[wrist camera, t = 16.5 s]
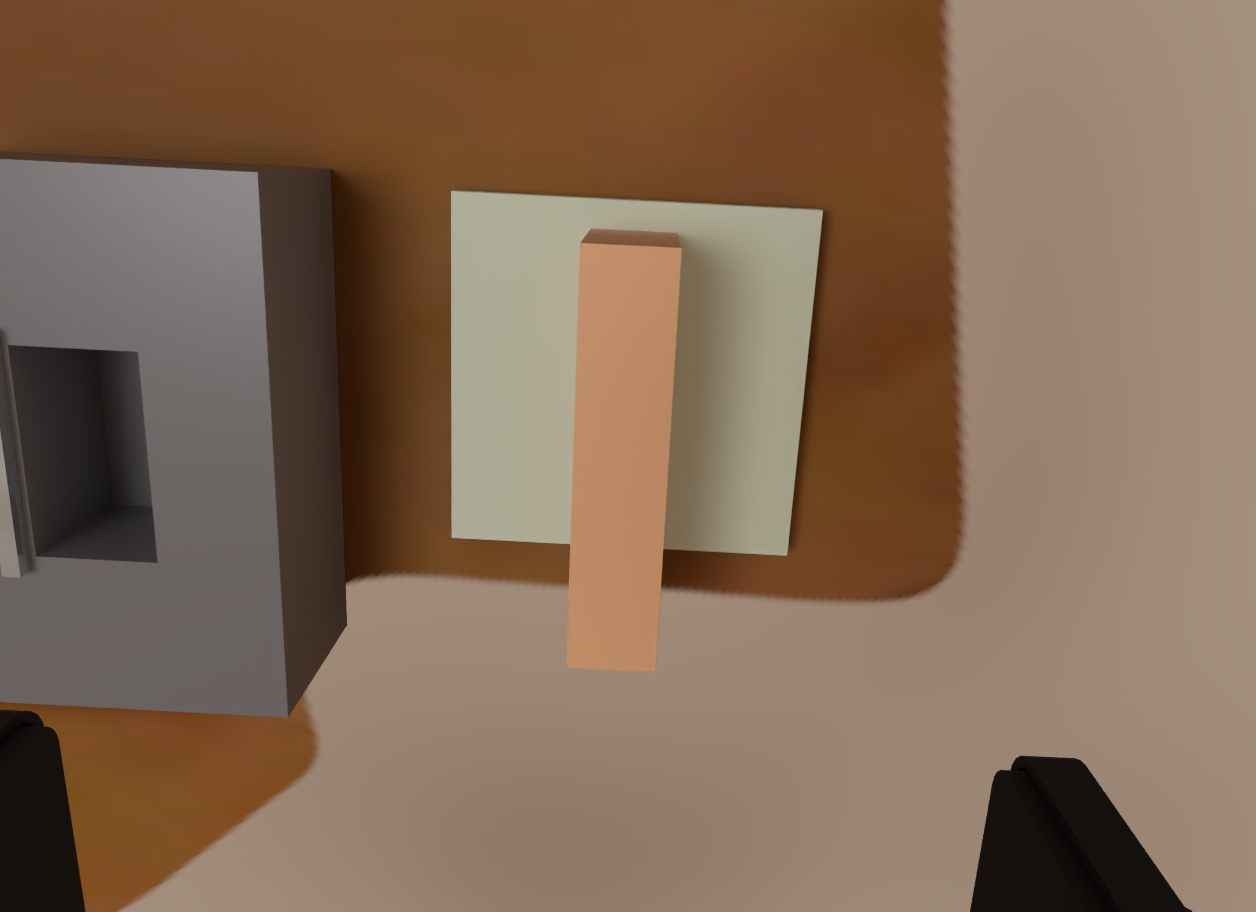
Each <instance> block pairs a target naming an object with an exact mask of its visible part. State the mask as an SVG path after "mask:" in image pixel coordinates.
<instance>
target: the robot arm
mask: <svg viewBox="0 0 1256 912" xmlns="http://www.w3.org/2000/svg"><path fill="white" fill-rule="evenodd" d="M0 912H85V906H84V899H83V893H82V886H81V880H80V874H79V867H78V861H77V854H76V848H75V841H74V835H73V828H72V822H71V816H70V809H69V803H68V796H67V790H66V783H65V777H64V770H63V764H62V758H61V751H60V745H59V740H58V736H57V734H56V732H55V731H54V730H53V729H52V728H49V727H44V725H43V721H42V720H41V718H40V717H39V716H38V714H36V713H33V712H31V711H15V710H0ZM970 912H1192V911H1191V910H1189V909H1187V908H1185V907H1184V906H1183V904H1182V902H1181V901H1180V900H1179V899H1178V897H1177V895H1176V894H1175V892H1174V891H1173V890H1172V888H1171V887H1170V885H1169V884H1168V882H1167V881H1166V880H1165V878H1164V877H1163V875H1162V874H1161V872H1160V871H1159V870H1158V868H1157V867H1156V865H1155V864H1154V862H1153V861H1152V860H1151V858H1150V857H1149V855H1148V854H1147V852H1146V851H1145V849H1144V848H1143V847H1142V845H1141V844H1140V842H1139V841H1138V839H1137V838H1136V837H1135V835H1134V834H1133V832H1132V831H1131V829H1130V828H1129V827H1128V825H1127V824H1126V822H1125V821H1124V819H1123V818H1122V817H1121V815H1120V814H1119V812H1118V811H1117V810H1116V808H1115V807H1114V805H1113V804H1112V802H1111V801H1110V800H1109V798H1108V796H1107V795H1106V794H1105V792H1104V791H1103V789H1102V788H1101V787H1100V785H1099V784H1098V782H1097V781H1096V779H1095V778H1094V777H1093V775H1092V774H1091V772H1090V771H1089V769H1088V768H1087V766H1086V765H1085V764H1084V763H1083V762H1082V761H1081V760H1078V759H1075V758H1057V757H1035V756H1019V757H1018V758H1016V759H1015V761H1014V763H1013V764H1012V767H1011V770H1010V771H1009V770H1000V771H998V772H997V773H996V775H995V776H994V780H993V783H992V788H991V795H990V800H989V806H988V812H987V817H986V823H985V829H984V835H983V840H982V847H981V852H980V858H979V864H978V869H977V875H976V881H975V886H974V893H973V898H972V904H971V909H970Z"/></svg>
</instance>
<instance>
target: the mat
mask: <svg viewBox="0 0 1256 912" xmlns="http://www.w3.org/2000/svg"><path fill="white" fill-rule="evenodd" d="M822 215H823V210H820V209H809V208H790V207H771V206H752V205H733V204H714V203H695V202H676V201H657V200H638V199H619V198H599V197H580V196H561V195H542V194H523V193H504V192H485V191H466V190H454V191H451V405H452V538H466V539H485V540H504V541H523V542H541V543H560V544H570V539H571V508H572V477H573V446H574V415H575V384H576V353H577V322H578V291H579V260H580V242H581V241H582V240H583V238H584V237H585V236H586V234H587V233H588V232H589V230H590V229H591V228H592V229H612V230H632V231H653V232H673V233H676V234H677V237H678V239H679V242H680V245H681V247H682V253H681V269H680V286H679V302H678V318H677V334H676V350H675V367H674V383H673V399H672V415H671V432H670V448H669V464H668V480H667V497H666V513H665V529H664V545H663V549H673V550H691V551H710V552H729V553H747V554H766V555H785V556H787V551H788V542H789V532H790V523H791V513H792V503H793V494H794V484H795V475H796V465H797V455H798V446H799V436H800V427H801V417H802V407H803V398H804V388H805V379H806V369H807V359H808V350H809V340H810V331H811V321H812V311H813V302H814V292H815V282H816V273H817V263H818V254H819V244H820V234H821V225H822Z"/></svg>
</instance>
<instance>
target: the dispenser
mask: <svg viewBox="0 0 1256 912" xmlns="http://www.w3.org/2000/svg"><path fill="white" fill-rule="evenodd" d="M346 626H347V615H346V585H345V557H344V529H343V500H342V472H341V444H340V416H339V387H338V359H337V331H336V302H335V274H334V246H333V217H332V189H331V169H322V168H303V167H284V166H265V165H246V164H227V163H208V162H189V161H170V160H150V159H131V158H112V157H93V156H74V155H55V154H36V153H17V152H0V702H9V703H28V704H46V705H65V706H84V707H102V708H121V709H139V710H158V711H176V712H195V713H213V714H232V715H251V716H269V717H289V715H290V714H291V712H292V711H293V709H294V707H295V706H296V704H297V703H298V701H299V700H300V698H301V696H302V695H303V693H304V692H305V690H306V689H307V687H308V685H309V684H310V682H311V681H312V679H313V677H314V676H315V674H316V673H317V671H318V670H319V668H320V666H321V665H322V663H323V662H324V660H325V659H326V657H327V656H328V654H329V652H330V651H331V649H332V648H333V646H334V645H335V643H336V641H337V640H338V638H339V637H340V635H341V634H342V632H343V630H344V629H345V627H346Z"/></svg>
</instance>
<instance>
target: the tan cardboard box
mask: <svg viewBox="0 0 1256 912" xmlns="http://www.w3.org/2000/svg"><path fill="white" fill-rule="evenodd" d="M681 253H682V247H681V245H680V242H679V239H678V237H677V234H676V233H673V232H653V231H632V230H612V229H592V228H591V229H590V230H589V232H588V233H587V234H586V236H585V237H584V238H583V240H582V241H581V242H580V260H579V291H578V322H577V353H576V384H575V415H574V446H573V477H572V508H571V539H570V570H569V603H568V633H567V634H568V635H567V664H566V668H580V669H598V670H618V671H619V670H620V671H639V672H656V659H657V642H658V626H659V610H660V594H661V578H662V562H663V545H664V529H665V513H666V497H667V480H668V464H669V448H670V432H671V415H672V399H673V383H674V367H675V350H676V334H677V318H678V302H679V286H680V269H681Z"/></svg>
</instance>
